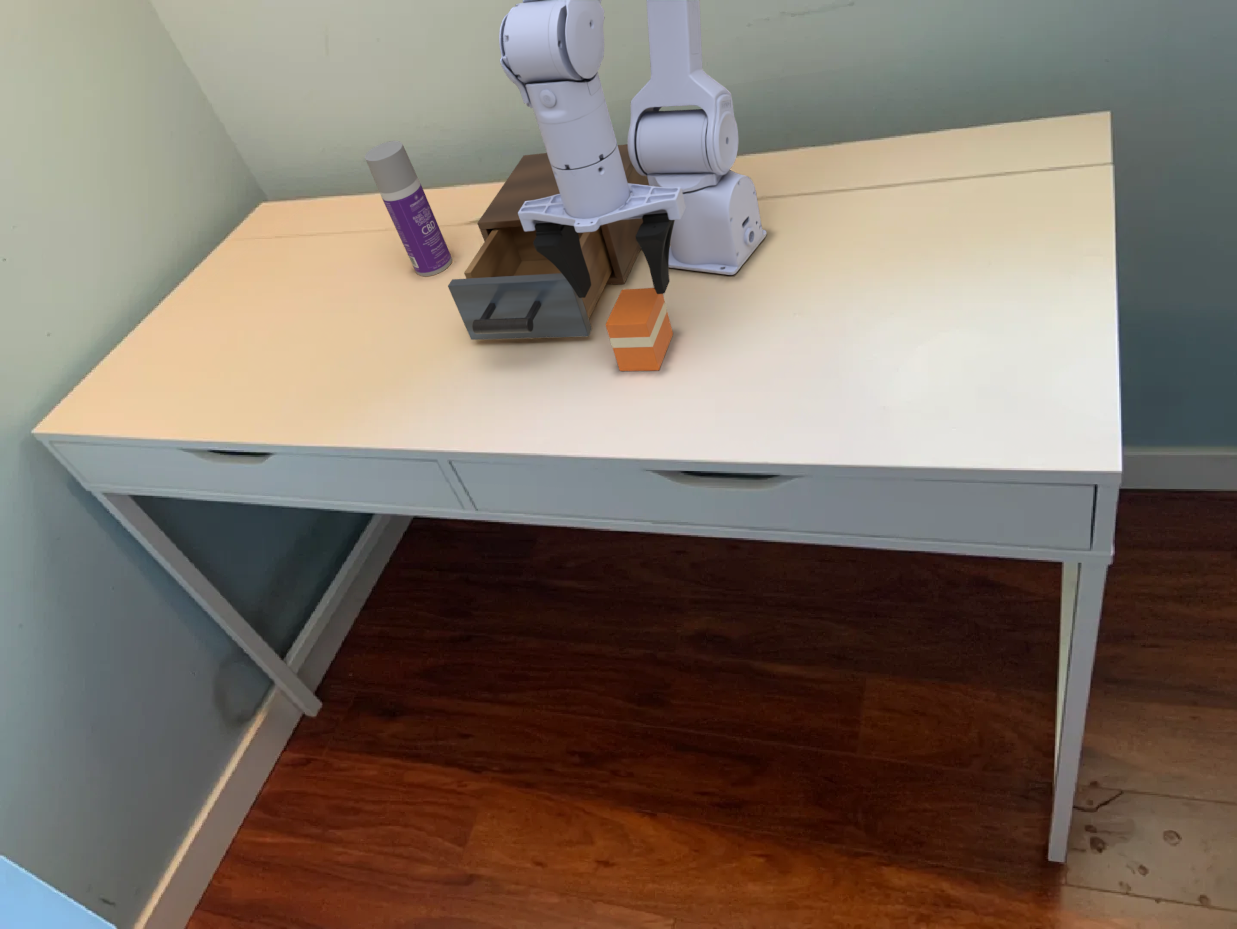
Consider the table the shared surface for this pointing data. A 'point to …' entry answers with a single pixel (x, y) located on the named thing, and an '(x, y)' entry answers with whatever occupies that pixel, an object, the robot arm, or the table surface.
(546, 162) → the cabinet
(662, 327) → the snack box
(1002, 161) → the table surface
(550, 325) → the drawer
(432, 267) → the container
